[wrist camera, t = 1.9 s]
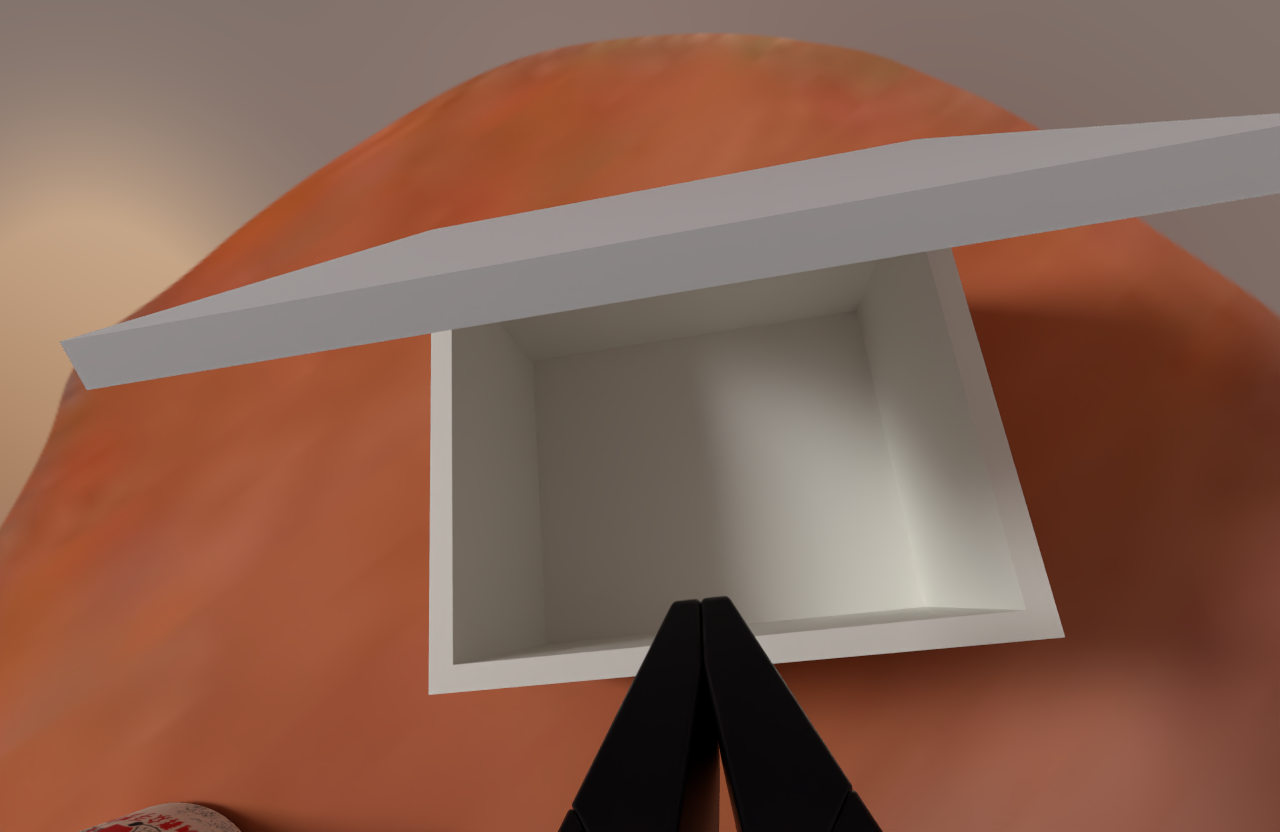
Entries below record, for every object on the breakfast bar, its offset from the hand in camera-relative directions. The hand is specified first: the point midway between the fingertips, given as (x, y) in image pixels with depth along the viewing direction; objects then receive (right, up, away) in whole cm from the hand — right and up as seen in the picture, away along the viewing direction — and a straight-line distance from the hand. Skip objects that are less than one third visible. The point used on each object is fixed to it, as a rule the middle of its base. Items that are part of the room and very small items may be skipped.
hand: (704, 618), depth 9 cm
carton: (+2, +1, +14) cm, 14 cm away
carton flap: (-1, +7, +3) cm, 7 cm away
